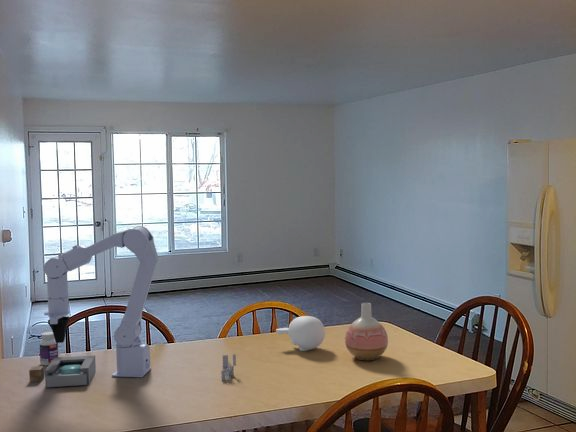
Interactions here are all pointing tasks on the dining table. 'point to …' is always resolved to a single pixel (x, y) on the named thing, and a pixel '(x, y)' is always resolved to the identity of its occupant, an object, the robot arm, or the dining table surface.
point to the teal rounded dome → (70, 369)
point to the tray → (66, 378)
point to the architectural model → (228, 367)
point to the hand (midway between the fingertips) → (60, 342)
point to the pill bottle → (48, 348)
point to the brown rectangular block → (36, 374)
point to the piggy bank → (305, 332)
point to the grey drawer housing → (86, 362)
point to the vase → (366, 336)
